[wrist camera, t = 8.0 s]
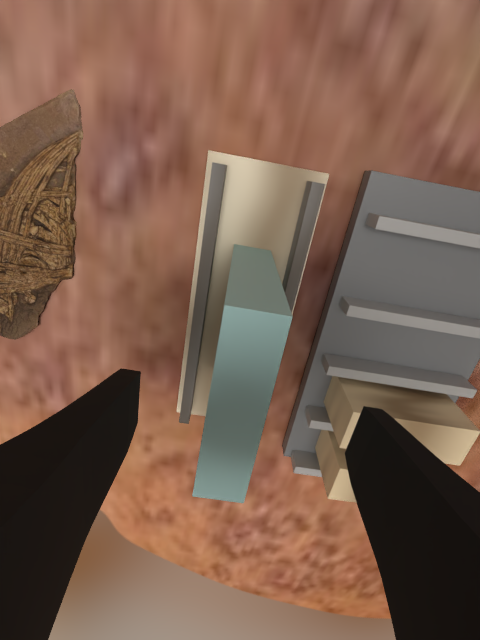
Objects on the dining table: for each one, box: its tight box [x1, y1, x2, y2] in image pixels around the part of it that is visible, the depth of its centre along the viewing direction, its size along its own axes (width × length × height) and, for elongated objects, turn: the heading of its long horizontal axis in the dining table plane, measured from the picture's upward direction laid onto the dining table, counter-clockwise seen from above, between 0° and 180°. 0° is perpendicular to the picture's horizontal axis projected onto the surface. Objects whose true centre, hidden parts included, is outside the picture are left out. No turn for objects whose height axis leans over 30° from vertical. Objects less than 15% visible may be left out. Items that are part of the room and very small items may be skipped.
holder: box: [177, 150, 329, 424], centre depth 19 cm, size 6×16×2 cm, turn 170°
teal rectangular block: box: [193, 244, 293, 503], centre depth 15 cm, size 8×2×9 cm, turn 170°
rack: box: [282, 171, 480, 477], centre depth 20 cm, size 10×19×2 cm, turn 170°
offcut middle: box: [324, 376, 480, 465], centre depth 20 cm, size 7×2×4 cm, turn 80°
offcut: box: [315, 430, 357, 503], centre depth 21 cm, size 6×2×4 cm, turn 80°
